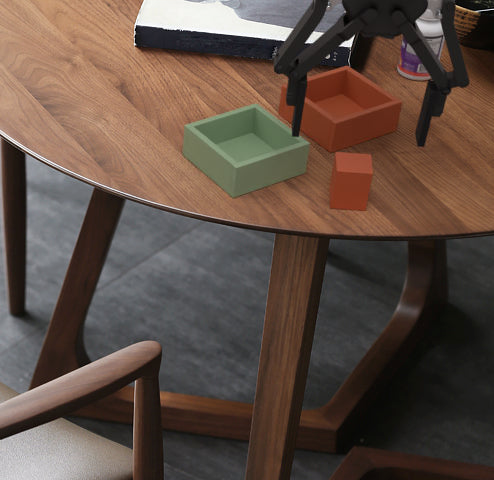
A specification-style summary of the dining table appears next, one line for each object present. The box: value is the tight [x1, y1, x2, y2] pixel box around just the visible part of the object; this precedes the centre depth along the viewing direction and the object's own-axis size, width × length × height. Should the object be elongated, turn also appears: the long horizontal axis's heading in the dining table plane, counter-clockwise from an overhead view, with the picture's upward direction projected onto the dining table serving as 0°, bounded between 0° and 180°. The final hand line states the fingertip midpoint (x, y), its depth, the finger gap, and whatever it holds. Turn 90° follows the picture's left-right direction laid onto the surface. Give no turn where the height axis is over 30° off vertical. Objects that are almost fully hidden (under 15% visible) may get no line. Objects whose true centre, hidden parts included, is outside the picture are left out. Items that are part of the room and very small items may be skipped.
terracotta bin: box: [277, 65, 403, 154], centre depth 135 cm, size 11×11×4 cm
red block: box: [328, 151, 374, 212], centre depth 122 cm, size 4×4×5 cm
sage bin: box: [182, 102, 311, 199], centre depth 128 cm, size 11×11×4 cm
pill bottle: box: [396, 9, 445, 82], centre depth 143 cm, size 5×5×10 cm
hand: (357, 135), depth 118 cm, fingers open, 13 cm apart
